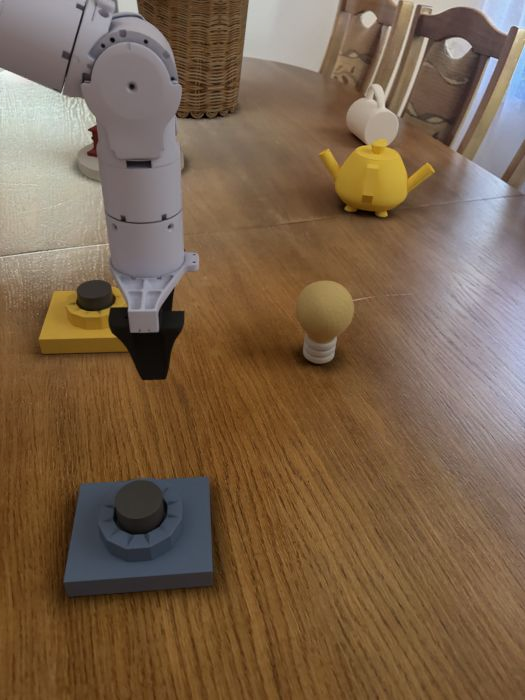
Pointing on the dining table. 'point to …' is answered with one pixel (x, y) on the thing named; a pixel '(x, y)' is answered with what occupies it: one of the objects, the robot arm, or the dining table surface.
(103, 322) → the block
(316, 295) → the light bulb
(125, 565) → the block
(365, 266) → the dining table surface
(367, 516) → the dining table surface
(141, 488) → the button
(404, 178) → the teapot
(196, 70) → the wicker basket
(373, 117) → the mug
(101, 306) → the button
